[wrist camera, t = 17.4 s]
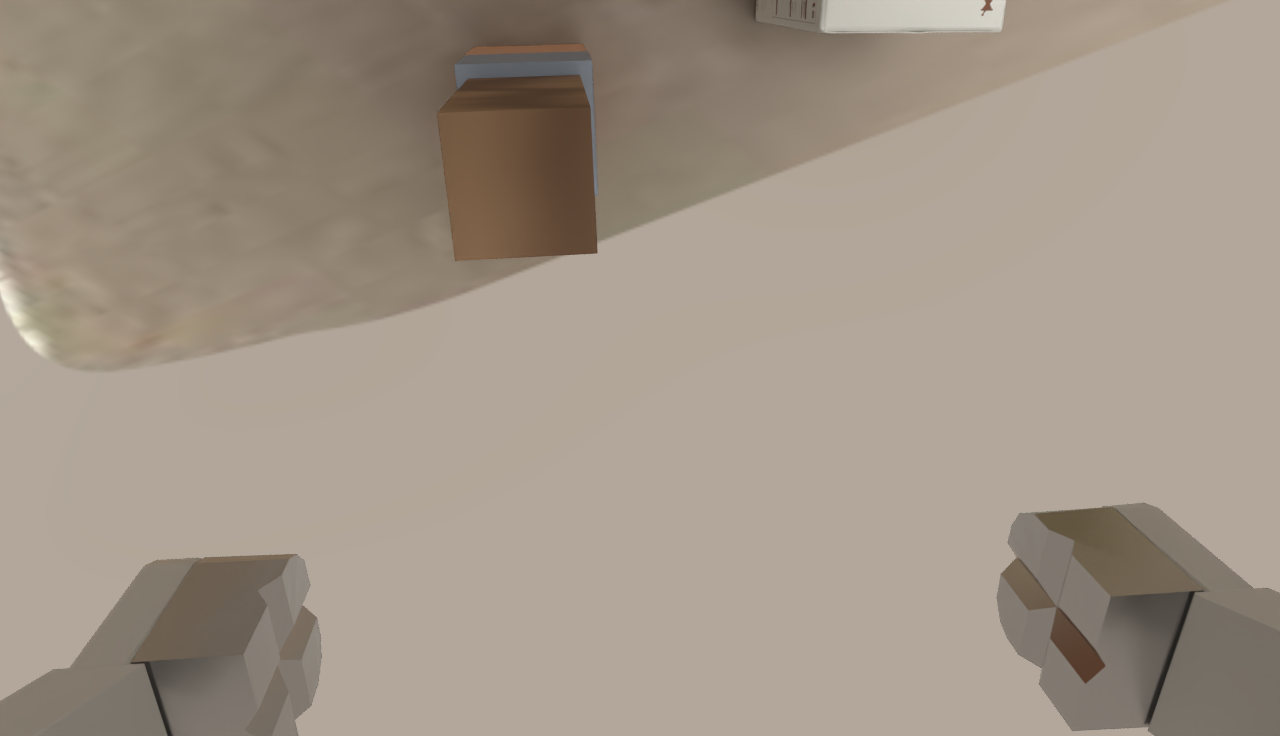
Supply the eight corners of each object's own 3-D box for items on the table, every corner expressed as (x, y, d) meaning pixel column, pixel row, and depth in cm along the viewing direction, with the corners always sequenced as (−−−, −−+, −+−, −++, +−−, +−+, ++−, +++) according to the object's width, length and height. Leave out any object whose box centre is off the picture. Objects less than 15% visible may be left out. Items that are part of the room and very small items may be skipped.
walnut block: (479, 189, 35) (455, 260, 26) (468, 78, 33) (436, 113, 24) (585, 185, 36) (597, 253, 26) (579, 74, 34) (590, 107, 25)
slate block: (478, 176, 40) (469, 201, 35) (466, 54, 38) (454, 64, 33) (592, 171, 40) (597, 195, 36) (587, 51, 38) (592, 60, 33)
